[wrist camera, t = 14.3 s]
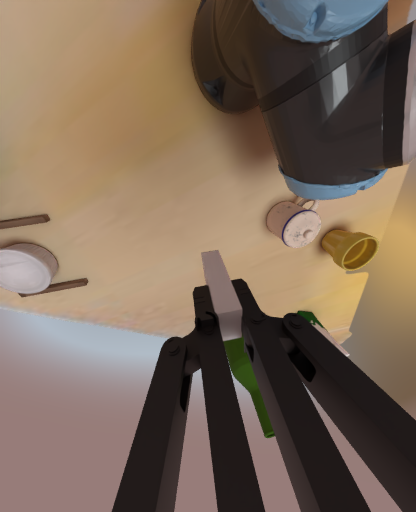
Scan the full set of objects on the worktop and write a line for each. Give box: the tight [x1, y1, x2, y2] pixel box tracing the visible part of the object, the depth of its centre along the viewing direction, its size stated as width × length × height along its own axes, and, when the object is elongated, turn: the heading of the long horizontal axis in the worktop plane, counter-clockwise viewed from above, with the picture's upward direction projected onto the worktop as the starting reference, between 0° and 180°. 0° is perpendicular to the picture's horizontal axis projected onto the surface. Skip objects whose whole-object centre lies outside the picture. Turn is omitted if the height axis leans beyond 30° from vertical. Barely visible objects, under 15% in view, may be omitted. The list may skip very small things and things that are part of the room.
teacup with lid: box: [267, 198, 321, 248], centre depth 41 cm, size 12×9×12 cm
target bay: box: [0, 214, 88, 297], centre depth 40 cm, size 18×15×2 cm
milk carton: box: [297, 311, 349, 357], centre depth 64 cm, size 9×9×20 cm
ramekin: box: [0, 243, 58, 294], centre depth 39 cm, size 11×11×5 cm
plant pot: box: [322, 230, 379, 271], centre depth 50 cm, size 10×10×10 cm
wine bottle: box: [223, 335, 275, 438], centre depth 48 cm, size 9×9×32 cm
